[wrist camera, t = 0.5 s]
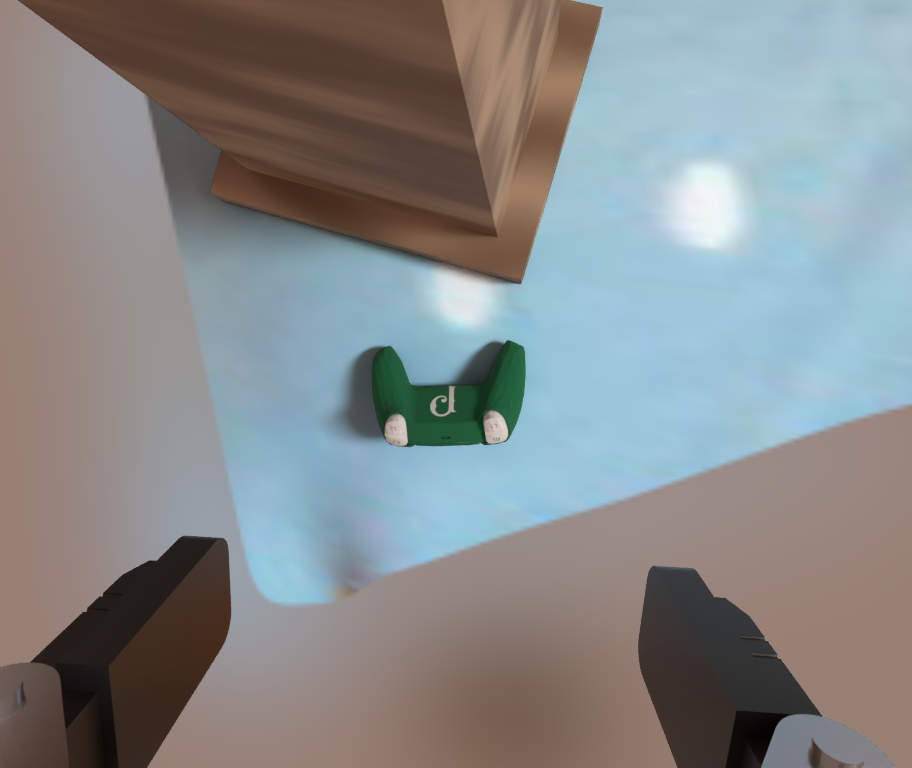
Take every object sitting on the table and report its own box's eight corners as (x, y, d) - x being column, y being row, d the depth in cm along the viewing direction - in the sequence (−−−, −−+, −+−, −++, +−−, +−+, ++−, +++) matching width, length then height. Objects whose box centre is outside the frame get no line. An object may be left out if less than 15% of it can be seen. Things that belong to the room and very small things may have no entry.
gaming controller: (385, 384, 39) (371, 457, 35) (373, 341, 36) (356, 415, 32) (526, 378, 38) (528, 453, 34) (524, 333, 35) (526, 410, 31)
